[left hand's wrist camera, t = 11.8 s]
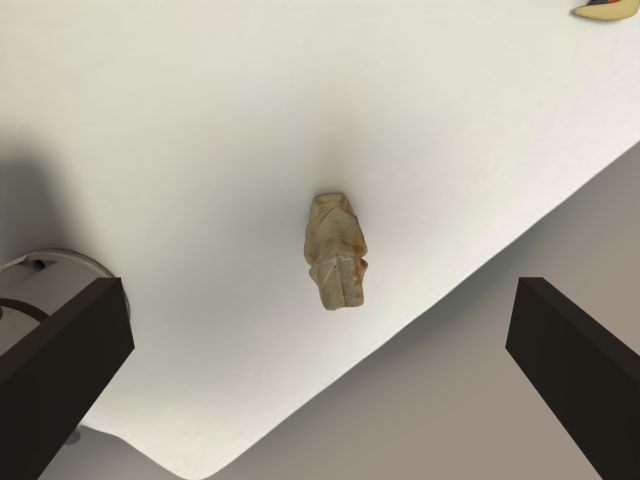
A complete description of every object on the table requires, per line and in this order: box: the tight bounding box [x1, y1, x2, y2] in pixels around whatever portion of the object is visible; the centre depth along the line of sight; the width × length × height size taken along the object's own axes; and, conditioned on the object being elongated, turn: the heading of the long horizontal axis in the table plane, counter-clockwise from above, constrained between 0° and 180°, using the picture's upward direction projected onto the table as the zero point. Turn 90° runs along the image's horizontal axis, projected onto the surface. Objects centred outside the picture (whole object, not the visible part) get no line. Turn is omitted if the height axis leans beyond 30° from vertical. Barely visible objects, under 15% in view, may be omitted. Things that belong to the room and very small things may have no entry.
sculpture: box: [304, 193, 368, 310], centre depth 37 cm, size 6×7×15 cm
